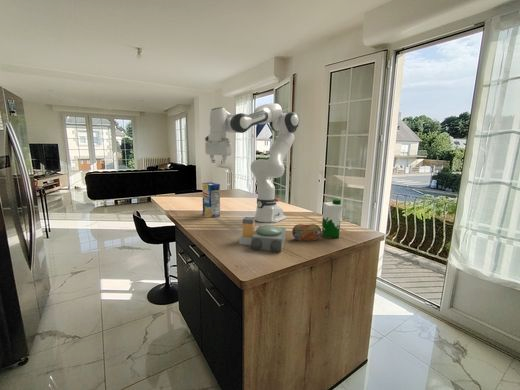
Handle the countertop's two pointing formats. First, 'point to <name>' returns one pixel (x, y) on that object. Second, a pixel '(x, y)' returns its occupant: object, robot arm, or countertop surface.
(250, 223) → the orange gray block
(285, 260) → the countertop surface
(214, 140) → the robot arm
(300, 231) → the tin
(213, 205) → the beverage box
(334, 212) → the milk carton
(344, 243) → the countertop surface
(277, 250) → the gray toy machine
